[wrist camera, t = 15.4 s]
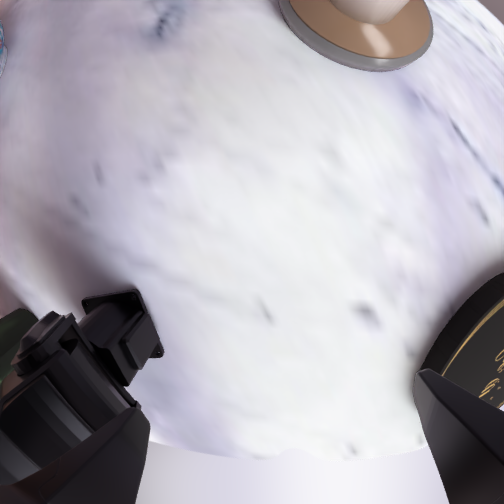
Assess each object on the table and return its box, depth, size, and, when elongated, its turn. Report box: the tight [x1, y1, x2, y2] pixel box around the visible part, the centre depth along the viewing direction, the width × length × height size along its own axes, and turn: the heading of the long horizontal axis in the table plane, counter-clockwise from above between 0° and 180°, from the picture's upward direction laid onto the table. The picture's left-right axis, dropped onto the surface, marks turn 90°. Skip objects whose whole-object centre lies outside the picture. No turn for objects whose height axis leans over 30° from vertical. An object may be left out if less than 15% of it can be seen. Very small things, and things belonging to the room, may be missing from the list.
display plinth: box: [279, 0, 433, 72], centre depth 13 cm, size 12×12×2 cm
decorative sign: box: [415, 273, 504, 409], centre depth 20 cm, size 29×3×25 cm
